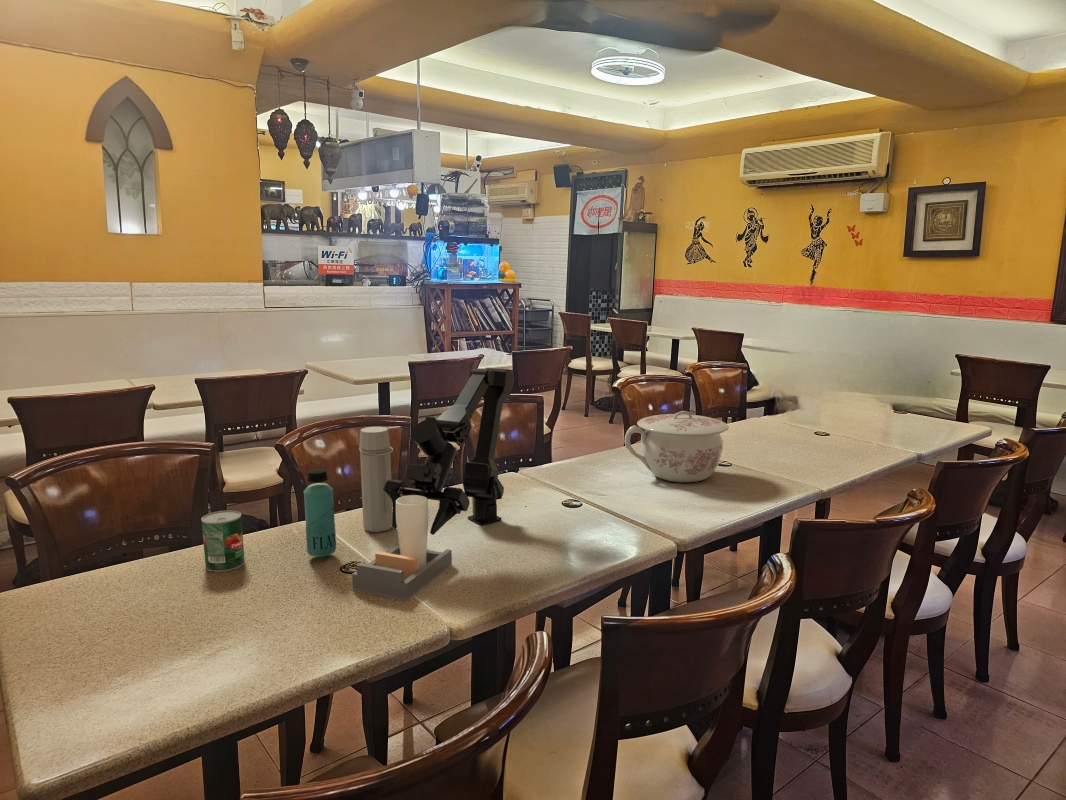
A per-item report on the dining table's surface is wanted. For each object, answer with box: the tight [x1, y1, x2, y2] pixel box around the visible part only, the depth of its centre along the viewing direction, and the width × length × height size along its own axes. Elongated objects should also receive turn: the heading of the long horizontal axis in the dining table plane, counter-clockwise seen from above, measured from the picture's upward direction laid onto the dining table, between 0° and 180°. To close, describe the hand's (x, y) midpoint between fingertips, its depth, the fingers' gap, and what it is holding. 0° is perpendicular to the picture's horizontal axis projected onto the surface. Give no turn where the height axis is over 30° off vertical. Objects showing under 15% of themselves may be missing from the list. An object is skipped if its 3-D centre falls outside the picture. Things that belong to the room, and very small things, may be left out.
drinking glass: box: [396, 495, 430, 570], centre depth 149 cm, size 7×7×15 cm
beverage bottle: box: [303, 468, 337, 558], centre depth 156 cm, size 6×7×20 cm
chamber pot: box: [624, 410, 730, 484], centre depth 217 cm, size 28×28×21 cm
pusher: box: [374, 551, 418, 580], centre depth 144 cm, size 1×9×5 cm, turn 68°
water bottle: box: [358, 426, 394, 533], centre depth 172 cm, size 9×8×25 cm
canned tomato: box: [200, 510, 246, 573], centre depth 153 cm, size 8×8×11 cm
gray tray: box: [351, 543, 453, 602], centre depth 147 cm, size 18×12×6 cm
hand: (412, 530), depth 149 cm, fingers open, 9 cm apart
